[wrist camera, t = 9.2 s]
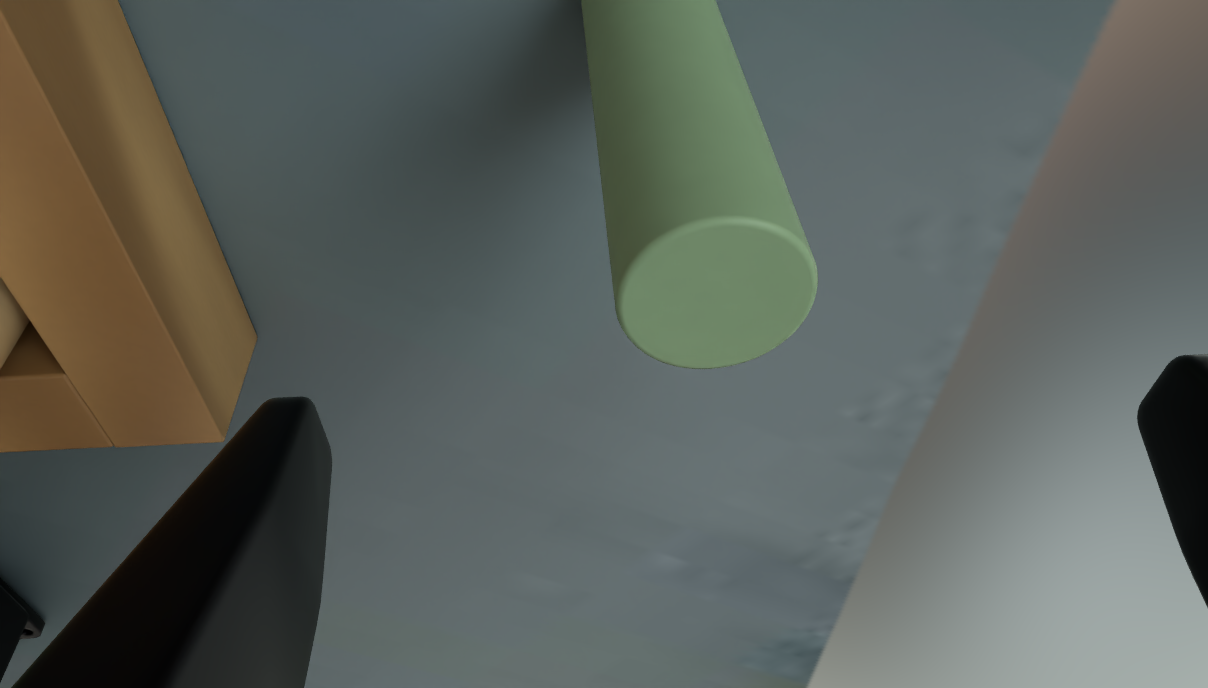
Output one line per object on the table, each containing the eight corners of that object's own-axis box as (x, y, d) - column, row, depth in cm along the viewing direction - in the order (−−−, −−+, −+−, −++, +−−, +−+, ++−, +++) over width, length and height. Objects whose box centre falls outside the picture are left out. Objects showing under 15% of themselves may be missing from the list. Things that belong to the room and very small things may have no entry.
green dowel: (581, 50, 17) (614, 376, 11) (578, -76, 15) (617, 223, 9) (698, 46, 17) (800, 367, 11) (709, -79, 15) (838, 216, 9)
